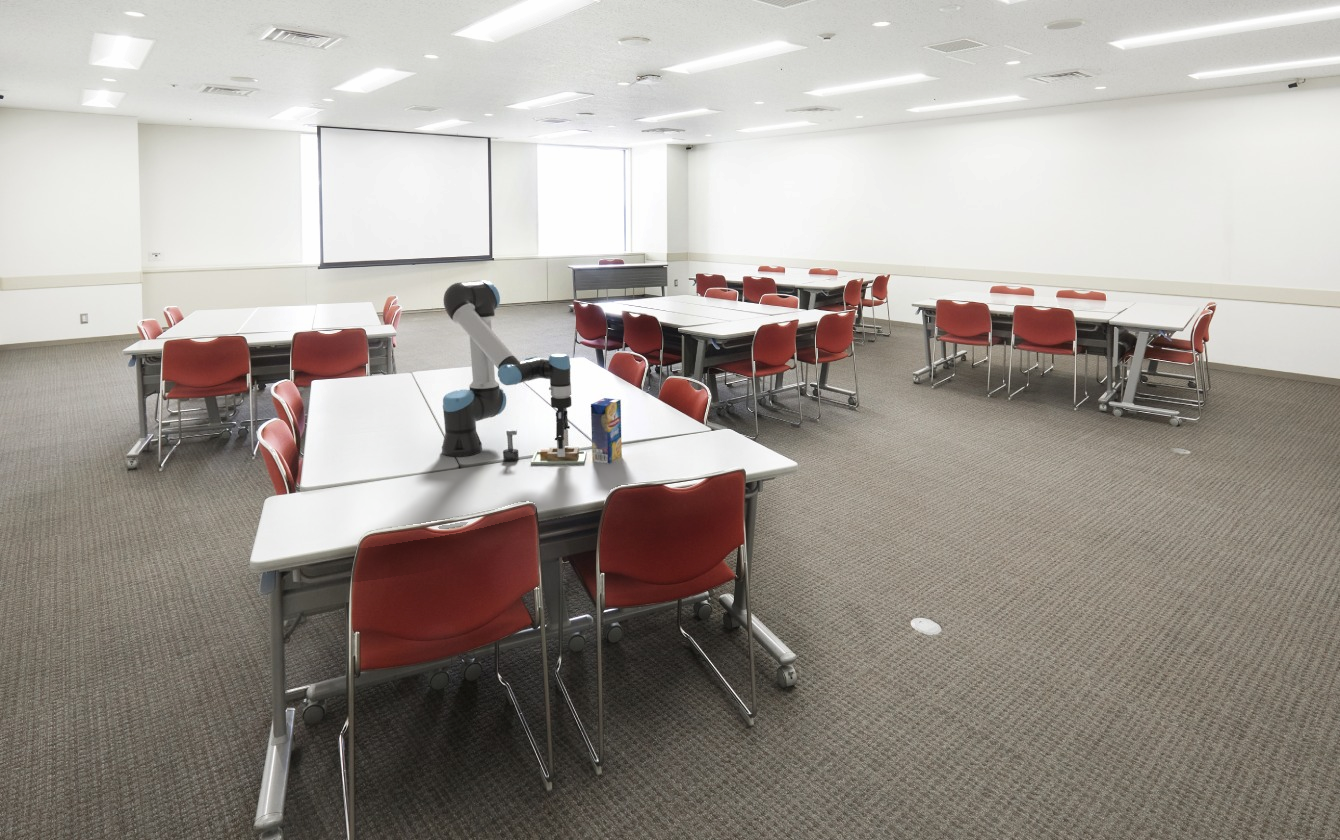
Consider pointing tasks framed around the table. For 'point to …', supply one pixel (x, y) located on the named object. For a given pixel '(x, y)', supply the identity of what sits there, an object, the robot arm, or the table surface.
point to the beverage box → (606, 430)
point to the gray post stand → (510, 448)
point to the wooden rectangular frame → (551, 455)
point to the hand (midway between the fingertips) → (563, 451)
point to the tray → (538, 461)
